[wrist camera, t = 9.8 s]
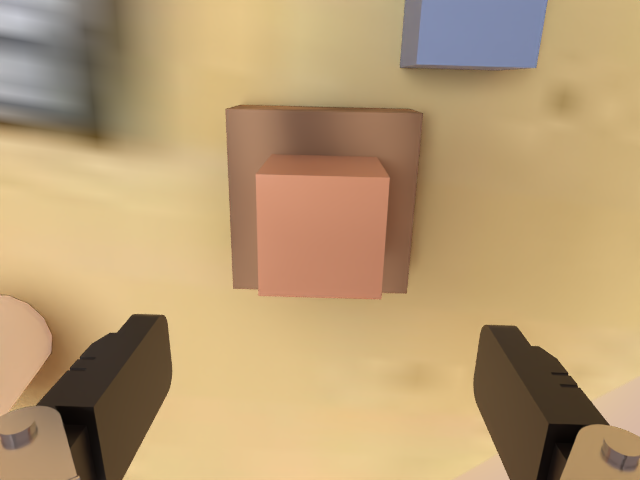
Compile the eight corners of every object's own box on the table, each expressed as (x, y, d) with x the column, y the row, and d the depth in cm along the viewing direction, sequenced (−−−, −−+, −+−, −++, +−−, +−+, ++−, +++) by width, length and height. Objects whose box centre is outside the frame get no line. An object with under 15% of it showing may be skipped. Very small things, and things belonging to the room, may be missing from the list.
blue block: (511, -40, 25) (559, -72, 20) (495, 70, 27) (536, 67, 21) (408, -43, 25) (428, -75, 20) (399, 67, 27) (416, 64, 21)
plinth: (410, 109, 27) (423, 113, 23) (397, 267, 30) (406, 293, 27) (240, 105, 27) (225, 108, 24) (245, 262, 31) (233, 288, 27)
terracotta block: (376, 156, 24) (389, 177, 19) (370, 255, 26) (381, 299, 21) (271, 154, 24) (255, 174, 19) (272, 252, 26) (258, 295, 21)
